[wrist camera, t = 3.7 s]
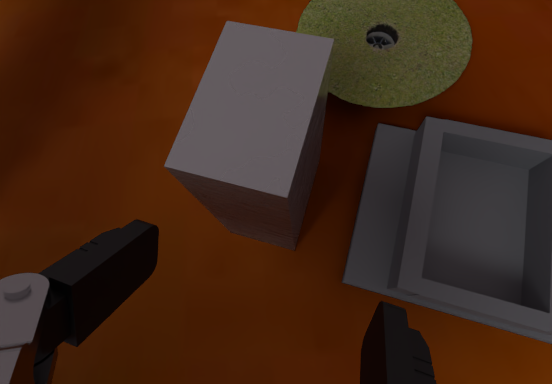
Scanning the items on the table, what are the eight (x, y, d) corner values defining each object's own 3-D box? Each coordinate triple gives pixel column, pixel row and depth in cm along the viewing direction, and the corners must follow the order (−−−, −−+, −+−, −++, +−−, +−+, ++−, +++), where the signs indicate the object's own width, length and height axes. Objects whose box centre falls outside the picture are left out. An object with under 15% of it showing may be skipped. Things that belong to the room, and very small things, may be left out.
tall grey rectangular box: (230, 232, 19) (163, 166, 10) (260, 146, 21) (226, 20, 12) (294, 250, 19) (287, 197, 9) (319, 160, 21) (334, 38, 11)
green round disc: (298, 128, 21) (298, 111, 20) (294, 1, 25) (293, -23, 23) (474, 120, 21) (491, 101, 19) (442, -10, 24) (454, -36, 22)
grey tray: (341, 282, 18) (348, 278, 15) (375, 129, 21) (386, 104, 18) (579, 352, 16) (634, 361, 13) (580, 172, 19) (625, 151, 16)
